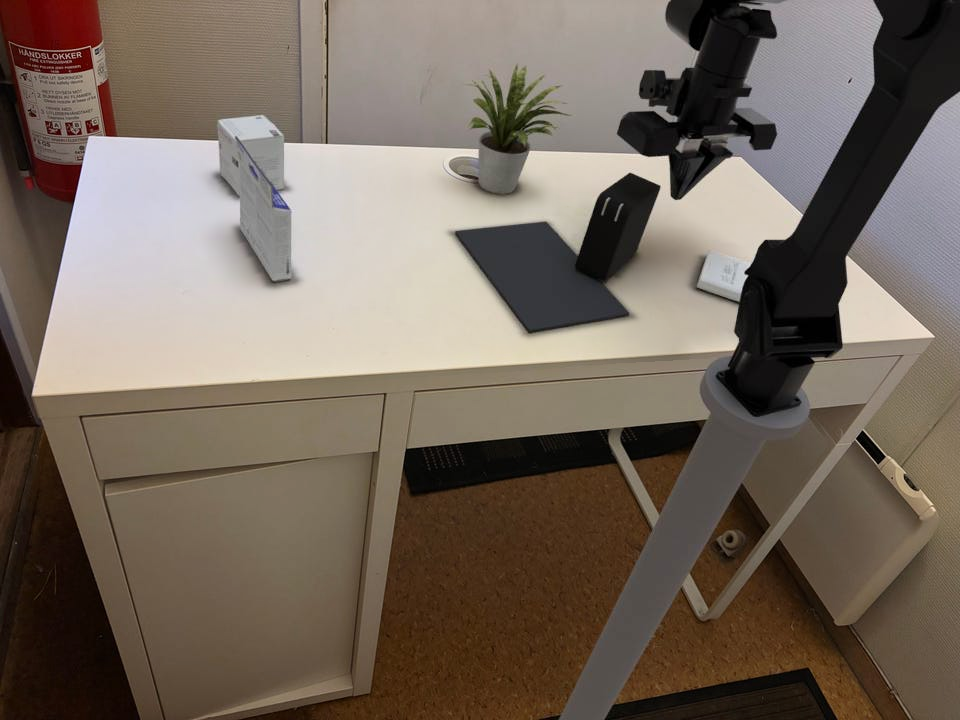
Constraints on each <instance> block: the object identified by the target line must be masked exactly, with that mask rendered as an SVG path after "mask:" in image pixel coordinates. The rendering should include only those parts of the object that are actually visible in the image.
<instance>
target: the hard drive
mask: <svg viewBox="0 0 960 720" xmlns="http://www.w3.org/2000/svg"><path fill="white" fill-rule="evenodd" d="M751 264H752V262H751V263H750V262H748V261H746V260H745V261H744V260H741V259H738V258H735V257H732V256H729V255H726V254H724V253H723V254H722V253H720V252H718V251H713V250H710V249H708V252H707V254H706V256H705V259H704V262H703V265H702V268H701V270H700V275H699V277H698V280H697V283H696V288H698V289H699V290H700V289H701V290H703V291H706V292H707V293H711V294H715V295H717V296H721V297H724V298H726V299H728V300H731V301H735V302H738V303H739V302H740V296H741V292H742V287H743V285H744V282H745V280H746V278H747V277H748V275H745V274H744V272H745V270H747V269H748V268H749V267H750V265H751Z"/></svg>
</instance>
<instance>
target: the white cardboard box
mask: <svg viewBox="0 0 960 720" xmlns="http://www.w3.org/2000/svg"><path fill="white" fill-rule="evenodd" d="M216 122H217V138H218V140H217V141H218V158H219V174H220V176H221V177H222V178H223V179H224V180H225V181H226V182H227V183H228V185H230V187H231V188H232V189H233V190H234V192H235V193H236V194H237V196H239V197H240V167H239V158H238V151H237V144H236V139H235V136H237V137H238V138H239V140H240V141H241V142H242V144H243V145H244V147H245V148H246V149H247V151H248V152H249V153H250V155H251V156H252V158H253V159H254V161H256V162H257V163H258V165H259V166H260V168H261V169H262V171H263V172H264V173H265V175H266V176H267V177H268V179H269V180H270V181H271V182H272V183H274V187H275V189H276V190H277V191H278V190H284V189H285V134H283V133H282V132H281V131H280V130H279V129H278V128H277V126H276V125H275V124H274V123H273V122H271V120H270V119H268V118H267V117H266V115H264V114H260V115H252V116H242V117H231V118H223V119H222V118H221V119H218V120H217V121H216Z"/></svg>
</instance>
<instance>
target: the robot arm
mask: <svg viewBox="0 0 960 720" xmlns="http://www.w3.org/2000/svg"><path fill="white" fill-rule="evenodd" d="M787 1H788V0H669V1H668V2H667V5H666V7H665V14H664V20H665V23H666V26H667V28H668V29H669V31H670V32H672V33H673V34H674V35H675V36H677V37H678V38H679V39H680V40H682V41H683V42H684V43H686V44H687V45H688V46H689V47H690V48H691V49H693V50H694V51H696V52H698V53H697V56H696V59H695V62H694V66H693V67H684V70H682V72H681V74H680V77H667V74H666V71H665V70H664V69H644V71H643V74H642V77H641V79H640V81H639V87H638V96H639V98H640V99H641V100H648V107H649V108H655V107H656V106H657V107H658V106H659V107H666V110H665V112H666V113H667V114H668V115H670V116H671V117H676V121H668V120H667V119H665V118H664V117H663V116H661V114H659V113H657V112H656V111H655V110H640V111H637V110H636V111H628V112H627V113H625V114H623V115H622V117H621V118H620V121H619V124H618V128H617V131H616V135H617V136H618V137H619V138H621V140H623V141H624V142H625V143H626V144H628V145H629V146H630V147H631V148H633V149H634V150H635V151H636V152H637V153H638V154H640V155H641V156H644V157H646V158H647V157H648V158H656V157H657V158H658V157H668V165H669V189H670V190H669V191H670V192H669V193H670V198H672V199H673V200H674V201H681V200H682V199H683V198H684V197H686V195H688V193H689V192H690V191H691V190H693V189H694V187H696V186H697V185H698V184H699V183H700V182H701V181H702V180H703V179H705V177H707V176H708V175H709V174H711V172H712V171H714V170H715V169H716V168H717V167H718V166H719V165H720V164H722V163H723V162H724V161H725V160H727V159H731V158H732V157H733V156H734V153H733V151H731V150H730V149H728V148H727V147H728V143H729V142H728V139H729V138H740V137H741V138H743V137H750V138H749V140H748V144H749V146H750V149H751V150H753V151H766V150H767V151H768V150H769V151H770V150H772V148H773V145H774V143H775V142H776V140H777V136H778V131H777V126H776V123H775V122H773V121H772V120H770V119H769V118H767V117H766V116H764V115H762V114H761V113H759V112H758V111H756V110H755V109H753V108H752V107H737V106H738V103H739V100H740V99H741V98H750V95H751V92H752V91H753V87H752V86H750V85H749V84H747V83H746V82H747V80H748V77H749V75H750V73H751V72H750V71H751V69H752V67H753V64H754V62H755V59H756V56H757V53H758V51H759V48H760V46H761V43H762V40H763V39H765V40H776V39H777V37H778V30H777V26H776V24H775V23H774V21H773V18H772V11H771V10H770V9H763V8H752V9H751V8H749V7H747V6H745V5H750V6H760V7H762V6H764V5H774V6H776V5H780V4H782V3H784V2H787ZM872 1H873V3H874V5H875V7H876V10H878V12H879V15H880V16H881V18H882V21H881V24H880V26H879V29H878V32H877V34H876V37H875V39H874V42H873V46H872V58H873V59H872V60H873V85H872V88H871V90H870V92H869V94H868V95H867V97H866V99H865V101H864V103H863V105H862V106H861V109H860V110H859V112H858V114H857V116H856V118H855V119H854V121H853V123H852V125H851V127H850V128H849V130H848V132H847V134H846V136H845V138H844V140H843V141H842V143H841V144H840V147H839V149H838V151H837V153H836V154H835V156H834V157H833V160H832V162H831V163H830V165H829V167H828V169H827V171H826V172H825V175H824V176H823V178H822V180H821V181H820V183H819V185H818V187H817V189H816V191H815V192H814V194H813V196H812V198H811V200H810V202H809V204H808V205H807V207H806V210H805V211H804V212H803V214H802V216H801V219H800V220H799V222H798V223H797V226H796V228H795V229H794V231H793V232H792V234H790V235H789V236H788V237H786V238H785V239H764V240H763V241H762V242H761V243H760V245H759V246H758V248H757V250H756V253H755V255H754V257H753V260H752V262H751V265H750V267H749V268H748V269H747V270H745V272H744V274H745V275H748V277H747V278H746V280H745V282H744V285H743V287H742V292H741V296H740V302H738V308H737V313H736V319H735V323H734V324H735V325H734V329H733V333H734V335H735V336H736V338H737V339H738V343H737V345H736V347H735V349H734V351H733V353H732V355H731V356H732V357H731V359H730V361H729V363H728V367H729V369H727V370H722V371H718V372H717V374H716V378H717V379H718V380H719V381H720V382H721V383H722V384H723V385H724V387H725V388H726V389H727V390H728V391H729V392H730V393H731V394H732V395H733V396H734V397H735V398H736V399H737V400H738V401H739V402H740V403H741V404H742V406H743V407H744V408H745V409H746V410H747V411H748V412H749V413H750V414H751V415H752V416H754V417H760V416H764V415H768V414H771V413H775V412H779V411H783V410H787V409H790V408H794V407H798V406H800V404H801V402H802V401H801V400H800V399H799V398H798V397H797V396H796V394H797V393H798V391H799V389H800V387H801V388H802V385H803V384H804V382H805V381H806V379H807V377H808V376H809V373H810V372H811V370H812V369H813V367H814V365H815V364H816V361H815V360H814V359H816V358H817V359H818V358H824V359H830V358H832V357H834V356H835V355H836V354H838V352H840V351H841V350H842V349H843V348H844V343H843V334H842V323H841V316H840V314H841V313H840V305H839V304H840V302H841V300H842V298H843V295H844V293H845V291H846V289H847V287H848V269H847V256H848V254H849V252H850V251H851V249H852V247H853V246H854V244H855V243H856V242H857V239H858V237H859V236H860V234H861V233H862V231H863V230H864V228H865V226H866V225H867V224H868V221H869V220H870V218H871V217H872V215H873V214H874V212H875V210H876V208H877V207H878V205H879V204H880V202H881V200H882V199H883V197H884V196H885V195H886V192H887V191H888V189H889V188H890V186H891V184H892V183H893V182H894V180H895V178H896V177H897V175H898V173H899V171H900V170H901V168H902V166H903V165H904V164H905V161H906V160H907V159H908V157H909V155H910V153H912V150H913V149H914V147H915V146H916V144H917V142H919V141H918V140H919V139H920V138H921V136H922V135H923V133H924V131H925V129H926V128H927V126H928V125H929V123H930V121H931V120H932V118H933V116H934V115H935V113H936V112H937V111H938V110H939V108H940V107H941V106H942V105H944V104H945V103H947V102H948V101H949V100H950V99H952V98H953V97H955V96H956V95H957V94H959V93H960V0H872ZM741 4H742V5H741Z"/></svg>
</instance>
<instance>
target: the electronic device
mask: <svg viewBox="0 0 960 720" xmlns="http://www.w3.org/2000/svg"><path fill="white" fill-rule="evenodd" d="M661 188H662V187H661V185H660V184H658V183H656V182H654V181H651V180H648V179H647V178H644V177H642V176H639V175H637V174H635V173H633V172H628V173H627V174H625V175H624V176H623V177H621V178H620V179H618V180H617V181H615V182H614V183H613V184H611V185H610V186H608V187H607V188H606V189H604V190H602V192H600V193H599V195H598V196H597V198H596V201H595V203H594V206H593V209H592V212H591V215H590V219H589V222H588V224H587V228H586V231H585V233H584V236H583V240H582V243H581V246H580V249H579V251H578V254H577V256H578V258H577V261H576V264H575V268H577V269H579V270H581V271H583V272H585V273H587V274H589V275H591V276H593V277H595V278H597V279H599V280H600V281H601V282H603V283H606V282H607V281H608V280H610V279H611V278H612V277H613V276H614V275H615V274H616V273H617V272H618V271H620V269H622V268H623V267H625V265H626V264H627V263H628V262H629V261H631V259H632V258H634V256H635V255H636V253H637V250H638V249H639V246H640V243H641V240H642V238H643V235H644V233H645V230H646V228H647V225H648V223H649V220H650V218H651V215H652V212H653V210H654V207H655V204H656V201H657V199H658V196H659V194H660V190H661Z"/></svg>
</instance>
